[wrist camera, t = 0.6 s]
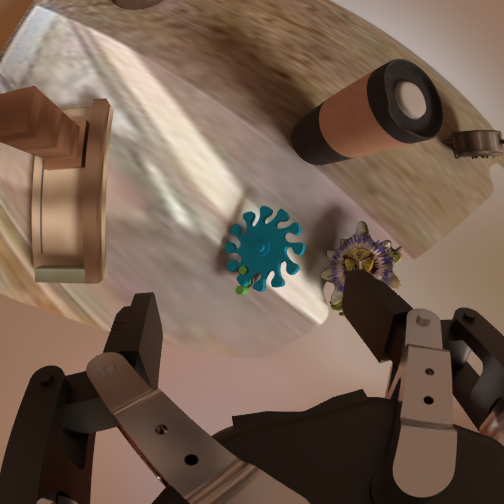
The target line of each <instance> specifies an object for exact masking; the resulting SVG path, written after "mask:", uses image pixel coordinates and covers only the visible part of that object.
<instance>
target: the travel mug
mask: <svg viewBox="0 0 504 504" xmlns="http://www.w3.org/2000/svg"><path fill="white" fill-rule="evenodd" d="M443 119H444V114H443V106H442V102H441V99H440V96H439V93H438V91H437V89H436V87H435V86H434V84H433V82H432V81H431V79H430V78H429V77H428V76H427V74H426V73H425V72H424V71H423V70H422V69H421V68H419V67H418V66H417V65H415V64H414V63H412V62H410V61H407V60H403V59H396V60H392V61H390V62H388V63H386V64H385V65H383V66H381V67H379V68H378V69H376V70H374V71H372V72H371V73H369V74H367V75H366V76H364V77H362V78H361V79H359V80H357V81H356V82H354V83H352V84H351V85H349V86H347V87H346V88H344V89H343V90H341V91H339V92H338V93H336V94H335V95H333V96H331V97H330V98H328V99H327V100H326V101H324V102H323V103H322V104H320V105H319V106H318V107H316V108H315V109H314V110H313V111H311V112H310V113H309V114H307V115H306V116H305V117H304V118H302V119H301V120H300V121H299V122H298V123H297V124H296V126H295V127H294V130H293V134H292V142H293V146H294V148H295V150H296V152H297V154H298V155H299V156H300V157H301V158H302V159H303V160H305V161H306V162H308V163H310V164H314V165H324V164H329V163H334V162H338V161H343V160H348V159H353V158H357V157H361V156H365V155H369V154H373V153H376V152H380V151H384V150H388V149H392V148H396V147H400V146H404V145H408V144H412V143H416V142H421V141H425V140H429V139H432V138H434V137H435V136H437V135H438V134H439V132H440V131H441V128H442V126H443Z"/></svg>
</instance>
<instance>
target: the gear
mask: <svg viewBox="0 0 504 504" xmlns="http://www.w3.org/2000/svg"><path fill="white" fill-rule="evenodd" d="M272 213H273V210H272V209H270V208H269V207H266V206H262V207H261V208H260V218H259V221H258V222H257V224H256V225H255V226H254V227H253V226H252V224H253V222H254V220H255V217H256V216H255V213H253V212H246V213H244V214H243V219H244V220H245V222H246V225H247V229H246V234H245V235H244V236H243V235H242V227H241V226H240V225H238V224H235V225H234V226H233V227H232V228H231V229H230V232H231V233H232V234H234V235H236V236H237V237H238V239H239V241H240V243H241V246H240V248H239V249H237V247H236V245H235V244H234V243H232V242H227V244H226V246H225V251H226V252H228V253H238V254H239V255H240V256H241V258H242V259H241V262H240V263H238V262H236V261H233V260H229V261H228V263H227V266H228V270H229V271H233V272H235V271H237V270H238V269H239V273H240V274H242V275H239V276H238V277H237V281H238V282H239V284H240V285H241V286H237V287H236V293H237V294H240V295H246V294H248V292H249V289H248V288H252V287H253V289H255V290H257V291H260V292H264V291H265V290H266V279H267V277H268V275H269V273H270V272H271V271H274V273H275V276H274V278H273V279H272V281H271V285H272V287H282V286H284V285H285V281H284V279H283V278H282V276H281V272H280V268H281V263H282V262H284V261H285V262H286V264H287V266H286V271H287V273H288V274H290V275H294V274H295V273H297V272H298V271H299V269H300V267H299V265H297V264H295V263H293V262H292V261H291V260H290V259H289V257H288V255H287V249H288V248H290V247H292V249H293V251H294V253H296V254H298V255H303V253H304V251H305V247H306V246H305V245H304V244H302V243H300V242H298V243H290V242H288V241H287V240H286V239H285V236H286V234H287V233H292V234H294V235H300V234H301V227H300V224H298V223H296V222H295V223H292V224H291V225H290V226H288V227H286V228H282V229H278V228H277V225H278V223H279V222H285V221H288V220H289V218H290V216H289V215H288V213H287V212H285V211H284V210H283V209H280V210H279V211H278V213H277V215H276V217H275V218H274V219H273V220H272V221H271V222H269V223H267V224H265V220H266V219H267V218H268V217H270V216H271V215H272ZM260 276H261V278H260ZM259 278H260V279H259ZM258 279H259V280H258Z"/></svg>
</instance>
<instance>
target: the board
mask: <svg viewBox="0 0 504 504" xmlns="http://www.w3.org/2000/svg"><path fill="white" fill-rule="evenodd" d="M61 111H62V112H64V113H65V114H66V115H67V116H68V117H69V118H70V119H71V120H73V121H77V120H87V121H88V122H89V123H90V125H89V133H88V141H87V150H86V161H85V168H75V169H62V170H50V171H48V170H45V169H44V159H43V158H40V157H38V156H35V161H34V173H33V188H32V249H33V265H34V276H35V282H49V283H97V284H98V283H99V282H100V281H102V280H103V279H104V278H105V277H106V276H107V267H106V236H105V212H106V182H107V166H108V153H109V143H110V133H111V125H112V117H113V109H112V107H111V106H110V104H109V102H108V101H107V99H95V100H93V105H92V107H86V108H76V109H68V110H61Z"/></svg>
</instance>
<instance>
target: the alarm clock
mask: <svg viewBox="0 0 504 504" xmlns="http://www.w3.org/2000/svg"><path fill="white" fill-rule="evenodd" d="M452 138H453V140H452V141H446V142H444V141H443V142H442V143H443V144H453V145H454V150H455V153H456V154H457V155H458V157H457V159H458V158H459V157H472V159H474V157H475V158H478V156H481V157H482V158H484V156H486V158H488V156H493V158H494V156H501V155H502V154H503V152H504V147H503V144H504V140H502V134H501V132H500V131H495V130H473V131H462V132H455V133H453V134H452Z"/></svg>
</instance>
